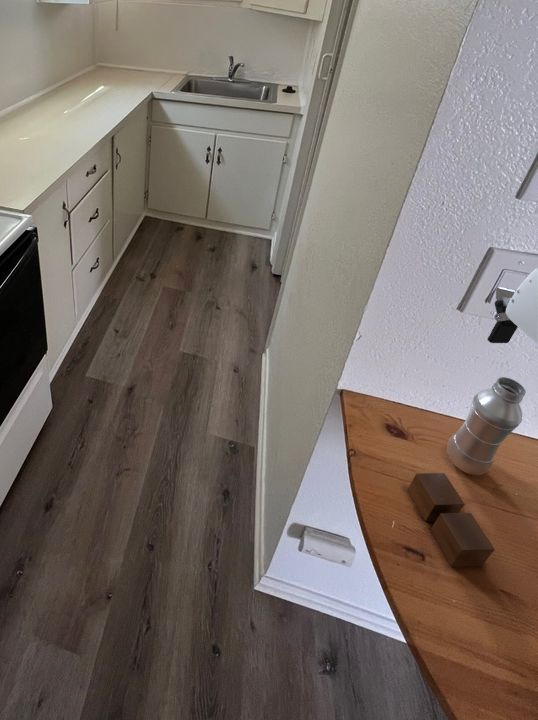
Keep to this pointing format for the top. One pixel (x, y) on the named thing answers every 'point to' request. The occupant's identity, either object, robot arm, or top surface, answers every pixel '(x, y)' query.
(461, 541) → the walnut block
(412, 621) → the top surface
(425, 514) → the walnut block
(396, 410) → the top surface
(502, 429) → the silver bottle
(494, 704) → the top surface
